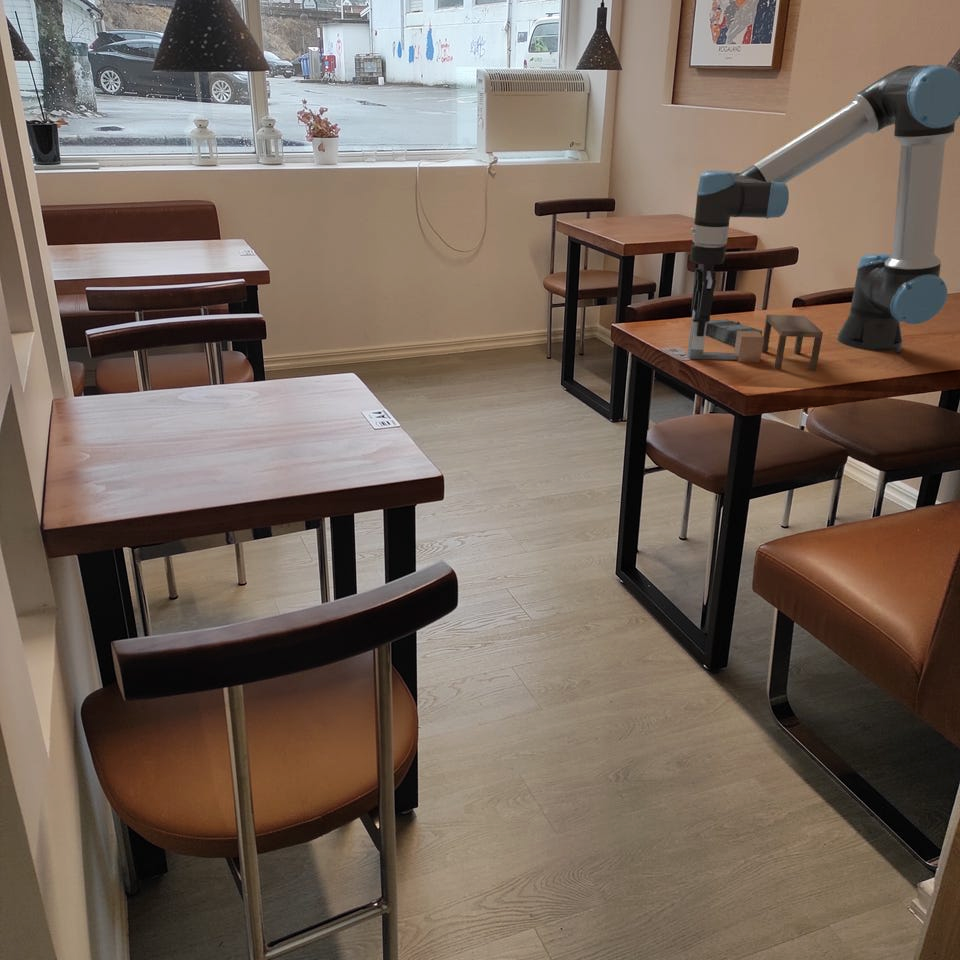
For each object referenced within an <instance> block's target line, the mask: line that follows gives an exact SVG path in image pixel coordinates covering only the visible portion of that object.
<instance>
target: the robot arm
mask: <svg viewBox="0 0 960 960" xmlns="http://www.w3.org/2000/svg"><path fill="white" fill-rule="evenodd" d="M959 118H960V71H959V70H957V69H955V68H953V67H950V66H946V65H942V64H932V65H931V64H930V65H905V66H902V67H900V68H897V69H895V70H892V71H891V72H889V73H887V74H885V75H884V76H883V77H880V78H879V79H878V80H875V82H873V83H872V84H870V85H869V86H867V87H865V88H864V89H862V90H861V91H859V92H857V93H856V94H854V95H853V97H852V98H851V103H848V104H847V105H846V106H844V107H843V108H841V109H840V110H838V111H836V112H835V113H833V114H832V115H829V116H828V117H827V118H825V119H823V120H822V121H821V122H819V123H818V124H815V126H812V127H811V128H809V129H808V130H807V131H805V132H803V133H801V134H800V135H798V136H797V137H795V138H794V139H791V141H789V142H788V143H786V144H784V145H783V146H781V147H780V148H778V149H776V150H775V151H774V152H772V153H770V154H768V155H767V156H766V157H763V158H762V159H761V160H759V161H758V162H756V163H754V164H753V165H751V166H749V167H747V168H746V169H745V170H743V171H742V172H733V171H728V170H705V171H702V173H701V175H700V176H699V180H698V186H697V192H696V202H695V203H696V204H695V213H694V221H693V222H694V225H693V226H694V228H690V233H691V234H692V242H693V244H692V245H691V247H690V255H689V260H690V262H692V263H693V264H697V265H698V266H697V267H696V268H694V270H693V271H694V281H693V287H692V288H693V290H692V300H691V308H690V311H691V314H692V313H693V309H697V316H696V319H693V322H695V323H694V331H693V339H692V347H691V349H697V350H705V341H706V327H707V322H709V321H711V313H712V312H711V311H712V305H713V299H714V293H715V287H716V284H717V280H716V275H717V274H716V271H715V270H714V269H715V266H716V265H722V264H723V263H725V259H726V257H725V256H726V249H727V247H726V246H725V245H727V243H728V238H729V237H728V236H729V227H730V220H731V218H762V219H764V218H765V219H767V220H768V219H769V218H770V219H771V218H781V217H782V216H783V215H784V214H785V213H786V211H787V208H788V205H789V199H790V195H789V194H790V192H789V188H788V186H787V183H789V182H790V181H792V180H793V179H795V178H796V177H798V176H800V175H801V174H803V173H805V172H806V171H808V170H810V169H811V168H812V167H814V166H816V165H817V164H819V163H820V162H822V161H824V160H825V159H827V158H829V157H830V156H832V155H833V154H835V153H837V152H839V151H840V150H841V149H843V148H845V147H846V146H848V145H850V144H851V143H853V142H854V141H857V140H858V139H859V138H861V137H862V136H864V135H866V134H873V135H874V134H876V133H877V132H879V131H881V130H882V129H884V128H886V127H889V126H892V125H894V130H893V133H894V134H893V136H894V138H895V139H896V140H897V141H898V143H899V144H900V154H899V165H898V166H899V167H898V177H897V178H898V179H897V180H898V181H897V189H896V190H897V193H896V202H895V203H896V204H895V216H894V217H895V219H894V231H893V243H892V253H889V254H888V253H867V254H864V255H863V256H862V257H861V258H860V260H859V264H858V267H857V273H856V278H855V282H854V283H855V284H854V289H853V293H852V299H851V304H850V311H849V314H848V316H847V318H846V320H845V321H844V323H843V324H842V327H841V329H840V331H839V332H838V335H837V339H836V340H837V341H838V342H839V343H840V344H842V345H845V346H848V347H851V348H855V349H860V350H866V351H876V352H877V351H878V352H879V351H880V352H882V351H883V352H889V351H893V352H895V354H900V352H901V350H902V347H903V336H902V329H901V322H903V323H905V324H911V325H917V324H923V323H925V322H927V321H930V320H932V318H934V317H935V316H936V315H937V314H938V313H940V311H941V310H942V309H943V307H944V306H945V304H946V302H947V299H948V287H947V285H946V283H945V282H944V280H943V279H942V278H941V277H940V272H941V265H942V264H941V263H942V262H941V259H940V258H939V257H938V256H937V255H936V254H935V248H936V238H937V237H936V236H937V229H938V228H937V227H938V217H939V207H940V206H939V205H940V198H941V186H942V178H943V177H942V176H943V169H944V167H943V165H944V157H945V156H944V155H945V148H946V141H947V140H948V139H949V138H950V137H952V135H953V134H954V133H955V127H956V126H955V125H956V121H957V120H958V119H959Z"/></svg>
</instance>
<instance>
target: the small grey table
mask: <svg viewBox="0 0 960 960" xmlns="http://www.w3.org/2000/svg"><path fill="white" fill-rule="evenodd" d="M772 328H773V329H774V330H775V331H776V332H777V334H779V336H778V342H777V343H778V344H777V350H776V356H775V361H774V370H780V371H781V370H782V366H783V359H784V354H785V348H786V343H787V341H786V340H787V337H792V338H793V337H795V342H794V349H793V354H796V355H800V354H801V351H802V345H803V340H804V338H814V340H813V345H812V352H811V357H810V360H809V361H810V362H809V368H808V370H809V371H810V372H817V367H818V362H819V356H820V351H821V345H822V339H823V334H824V332H823V331H822V330H821V328H819V327H818V326H817V325H816V324H815V323H813V322H812V321H811V319H809V318H808V317H807V316H806V315H793V314H792V315H790V314H789V315H788V314H787V315H786V314H766V317H765V324H764V329H763V334H762V336H763V337H764V339H763V345H762V352H761V354H765V353H767V354H768V350H769V343H770V337H771V330H772Z"/></svg>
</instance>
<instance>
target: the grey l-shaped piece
mask: <svg viewBox="0 0 960 960" xmlns="http://www.w3.org/2000/svg"><path fill="white" fill-rule="evenodd" d="M692 312H693V313H692ZM692 312H691V324H690V331H689V339H688V346H687V347H688V348H687V357H688V359H690V360H719V361H720V360H724V361H737V362H738V363H758V364H759V363H760V362H761V358H762V345H763V339H764V337H763V334H762V335H761V333H760V332H757V331H737V336H736V343H735V347H734V350H733V351H734V352H719V351H718V352H716V351H704V350H705V349H704V350H697V349H691V347H692V339H693V331H694V323H695V322H693V319H696V316H697V309H693V311H692Z"/></svg>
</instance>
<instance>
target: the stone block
mask: <svg viewBox="0 0 960 960" xmlns="http://www.w3.org/2000/svg"><path fill="white" fill-rule="evenodd" d="M737 331H757V332H760V333H761V335H762V336H763V330H761V329H758V328H754V327H751V326H748V325H746V324H745V325H744V324H741V323H740V321H733V320H730V319H727V318H725V319H714V320H710V321H709V322H707V327H706V335H705V337H706V336H707V337H709V338H711V339H714V340H717V341H719V342H721V343H724V344H726V345H729V346H731V347H734V348H735V343H736V336H737Z"/></svg>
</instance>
